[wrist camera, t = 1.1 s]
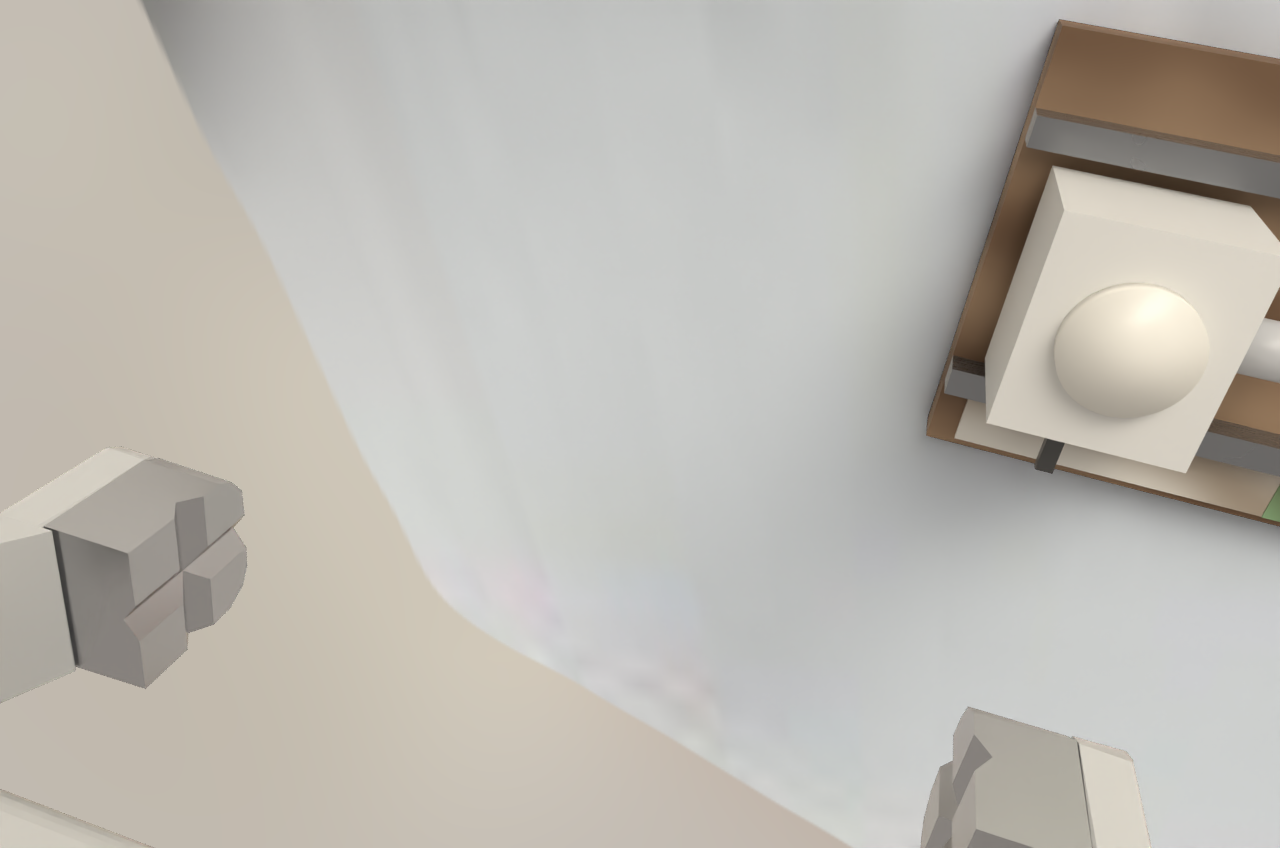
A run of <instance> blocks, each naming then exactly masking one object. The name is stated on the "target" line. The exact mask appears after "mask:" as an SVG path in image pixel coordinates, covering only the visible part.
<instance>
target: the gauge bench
mask: <svg viewBox="0 0 1280 848" xmlns="http://www.w3.org/2000/svg"><path fill="white" fill-rule="evenodd" d="M1035 108H1040V109H1045V110H1050V111H1055V112H1060V113H1066V114H1071V115H1076V116H1081V117H1086V118H1091V119H1096V120H1101V121H1106V122H1112V123H1117V124H1122V125H1127V126H1132V127H1137V128H1142V129H1147V130H1152V131H1157V132H1163V133H1168V134H1173V135H1178V136H1183V137H1188V138H1193V139H1198V140H1203V141H1208V142H1214V143H1219V144H1224V145H1229V146H1234V147H1239V148H1244V149H1249V150H1254V151H1260V152H1265V153H1270V154H1275V155H1280V59H1277V58H1271V57H1266V56H1260V55H1255V54H1249V53H1243V52H1238V51H1232V50H1227V49H1221V48H1216V47H1210V46H1205V45H1199V44H1193V43H1188V42H1182V41H1177V40H1171V39H1166V38H1160V37H1155V36H1149V35H1143V34H1138V33H1132V32H1127V31H1121V30H1116V29H1110V28H1105V27H1099V26H1093V25H1088V24H1082V23H1077V22H1071V21H1066V20H1060V19H1059V21H1058V24H1057V27H1056V30H1055V33H1054V36H1053V39H1052V42H1051V45H1050V48H1049V51H1048V54H1047V58H1046V61H1045V64H1044V67H1043V70H1042V73H1041V76H1040V79H1039V82H1038V85H1037V88H1036V91H1035V94H1034V97H1033V100H1032V103H1031V106H1030V109H1029V112H1028V115H1027V118H1026V121H1025V124H1024V127H1023V130H1022V133H1021V136H1020V139H1019V142H1018V145H1017V148H1016V152H1015V155H1014V158H1013V161H1012V164H1011V167H1010V170H1009V173H1008V176H1007V179H1006V182H1005V185H1004V188H1003V191H1002V194H1001V197H1000V200H999V203H998V206H997V209H996V212H995V215H994V218H993V221H992V224H991V227H990V230H989V233H988V236H987V239H986V242H985V245H984V249H983V252H982V255H981V258H980V261H979V264H978V267H977V270H976V273H975V276H974V279H973V282H972V285H971V288H970V291H969V294H968V297H967V300H966V303H965V306H964V309H963V312H962V315H961V318H960V321H959V324H958V327H957V330H956V333H955V336H954V339H953V343H952V346H951V349H950V352H949V355H948V358H947V361H946V364H945V367H944V370H943V373H942V376H941V379H940V382H939V385H938V388H937V391H936V394H935V397H934V400H933V403H932V406H931V409H930V412H929V415H928V420H927V432H926V436H930V437H934V438H938V439H942V440H945V441H949V442H953V443H957V444H961V445H965V446H969V447H973V448H977V449H980V450H984V451H988V452H992V453H996V454H1000V455H1004V456H1008V457H1012V458H1015V459H1019V460H1023V461H1027V462H1031V463H1035V461H1036V458H1037V456H1038V453H1039V451H1040V448H1041V446H1042V443H1043V441H1044V439H1045V438H1043V437H1039V436H1036V435H1032V434H1028V433H1024V432H1020V431H1016V430H1012V429H1008V428H1004V427H1000V426H996V425H992V424H988V423H986V404H985V403H981V402H977V401H973V400H969V399H965V398H961V397H957V396H953V395H949V394H945V393H944V388H945V378H946V375H947V372H948V369H949V366H950V363H951V360H952V357H953V355H954V356H958V357H962V358H966V359H970V360H974V361H978V362H983V363H985V356H986V353H987V350H988V348H989V345H990V342H991V339H992V336H993V333H994V330H995V328H996V325H997V322H998V319H999V316H1000V313H1001V311H1002V308H1003V305H1004V302H1005V299H1006V296H1007V293H1008V291H1009V288H1010V285H1011V282H1012V279H1013V276H1014V274H1015V271H1016V268H1017V265H1018V262H1019V259H1020V257H1021V254H1022V251H1023V248H1024V245H1025V242H1026V239H1027V237H1028V234H1029V231H1030V228H1031V225H1032V222H1033V220H1034V217H1035V214H1036V211H1037V208H1038V205H1039V202H1040V200H1041V197H1042V194H1043V191H1044V188H1045V185H1046V183H1047V180H1048V177H1049V174H1050V171H1051V168H1052V166H1058V167H1063V168H1067V169H1072V170H1077V171H1082V172H1087V173H1092V174H1097V175H1102V176H1106V177H1111V178H1116V179H1121V180H1126V181H1131V182H1136V183H1141V184H1145V185H1150V186H1155V187H1160V188H1165V189H1170V190H1175V191H1180V192H1184V193H1189V194H1194V195H1199V196H1204V197H1209V198H1214V199H1218V200H1223V201H1228V202H1233V203H1238V204H1243V205H1248V206H1251V207H1252V209H1253V210H1254V211H1255V212H1256V213H1257V215H1258V216H1259V217H1260V218H1261V220H1262V221H1263V222H1264V223H1265V224H1266V226H1267V227H1268V228H1269V229H1270V231H1271V232H1272V233H1273V234H1274V235H1275V237H1276V238H1277V239H1278V240H1279V242H1280V199H1279V198H1274V197H1269V196H1264V195H1260V194H1255V193H1250V192H1245V191H1240V190H1235V189H1230V188H1225V187H1220V186H1215V185H1210V184H1205V183H1200V182H1195V181H1191V180H1186V179H1181V178H1176V177H1171V176H1166V175H1161V174H1156V173H1151V172H1146V171H1141V170H1136V169H1131V168H1127V167H1122V166H1117V165H1112V164H1107V163H1102V162H1097V161H1092V160H1087V159H1082V158H1077V157H1072V156H1067V155H1062V154H1058V153H1053V152H1048V151H1043V150H1038V149H1033V148H1028V147H1026V141H1025V137H1026V134H1027V131H1028V128H1029V125H1030V122H1031V119H1032V116H1033V113H1034V110H1035ZM1264 318H1267V319H1272V320H1276V321H1280V287H1279V289H1278V291H1277V293H1276V295H1275V297H1274V299H1273V301H1272V303H1271V305H1270V307H1269V309H1268V311H1267V313H1266V315H1265V317H1264ZM1214 419H1218V420H1222V421H1227V422H1231V423H1235V424H1239V425H1243V426H1247V427H1251V428H1256V429H1260V430H1264V431H1268V432H1272V433H1276V434H1280V383H1276V382H1272V381H1268V380H1263V379H1259V378H1255V377H1250V376H1246V375H1242V374H1238V373H1236V375H1235V377H1234V379H1233V381H1232V383H1231V385H1230V387H1229V389H1228V391H1227V393H1226V395H1225V397H1224V399H1223V401H1222V403H1221V405H1220V406H1219V408H1218V410H1217V412H1216V414H1215V416H1214ZM1054 469H1058V470H1062V471H1066V472H1070V473H1074V474H1078V475H1082V476H1086V477H1089V478H1093V479H1097V480H1101V481H1105V482H1109V483H1113V484H1117V485H1121V486H1124V487H1128V488H1132V489H1136V490H1140V491H1144V492H1148V493H1152V494H1156V495H1159V496H1163V497H1167V498H1171V499H1175V500H1179V501H1183V502H1187V503H1191V504H1194V505H1198V506H1202V507H1206V508H1210V509H1214V510H1218V511H1222V512H1226V513H1229V514H1233V515H1237V516H1241V517H1245V518H1249V519H1253V520H1257V521H1261V522H1264V523H1268V524H1272V525H1276V526H1280V477H1279V476H1275V475H1271V474H1267V473H1263V472H1259V471H1255V470H1251V469H1247V468H1243V467H1239V466H1235V465H1231V464H1227V463H1222V462H1218V461H1214V460H1210V459H1206V458H1202V457H1198V456H1194V458H1193V460H1192V462H1191V464H1190V466H1189V468H1188V470H1187V472H1186V473H1182V472H1178V471H1174V470H1170V469H1166V468H1162V467H1158V466H1154V465H1151V464H1147V463H1143V462H1139V461H1135V460H1131V459H1127V458H1123V457H1119V456H1115V455H1111V454H1107V453H1103V452H1099V451H1095V450H1091V449H1087V448H1083V447H1079V446H1075V445H1071V444H1067V443H1065V444H1064V447H1063V449H1062V451H1061V454H1060V456H1059V459H1058V461H1057V463H1056V466H1055V468H1054Z"/></svg>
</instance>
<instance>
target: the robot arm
mask: <svg viewBox="0 0 1280 848" xmlns="http://www.w3.org/2000/svg"><path fill="white" fill-rule="evenodd" d="M243 516H244V507H243V497H242V490H240V489H239V488H238V487H237V486H236V485H235V484H233V483H232V482H230V481H226V480H224V479H220V478H217V477H214V476H211V475H208V474H205V473H202V472H199V471H196V470H193V469H190V468H187V467H184V466H181V465H178V464H175V463H172V462H169V461H166V460H163V459H160V458H154V457H152V456H149V455H146V454H143V453H140V452H136V451H133V450H130V449H127V448H124V447H110V448H105V449H103V450H102V451H100V452H98V453H97V454H95V455H94V456H92V457H90V458H89V459H87V460H86V461H84V462H82V463H81V464H79V465H77V466H76V467H74V468H72V469H71V470H69V471H67V472H66V473H64V474H63V475H61V476H59V477H58V478H56V479H55V480H53V481H51V482H50V483H48V484H46V485H45V486H43V487H41V488H40V489H38V490H36V491H35V492H33V493H32V494H30V495H28V496H27V497H25V498H23V499H22V500H20V501H19V502H17V503H15V504H14V505H12V506H10V507H9V508H7V509H5V510H4V511H2V512H1V513H0V703H2V702H4V701H7V700H9V699H11V698H14V697H16V696H18V695H21V694H23V693H25V692H28V691H30V690H32V689H35V688H37V687H39V686H42V685H44V684H46V683H49V682H51V681H53V680H56V679H58V678H60V677H63V676H65V675H67V674H70V673H72V672H74V671H75V670H76V667H78V668H82V669H85V670H88V671H91V672H94V673H98V674H101V675H104V676H107V677H110V678H113V679H117V680H120V681H123V682H126V683H129V684H132V685H135V686H138V687H142V688H145V689H146V688H147V687H148V686H149V685H150V684H151V683H152V682H153V681H154V680H155V679H156V678H158V677H159V676H160V674H162V673H163V672H164V671H165V670H166V669H167V668H168V667H169V666H170V665H171V664H172V663H173V662H175V661H176V660H177V659H178V658H179V657H180V656H181V655H182V654H183V653H184V652H185V651H186V650H187V644H188V633H190V632H192V631H196V630H199V629H202V628H205V627H208V626H211V625H214V624H215V623H216V622H217V621H218V620H219V619H220V618H221V617H222V616H223V615H224V614H225V613H226V612H227V611H228V610H229V609H230V608H231V606H232V604H233V602H234V600H235V599H236V597H237V595H238V593H239V591H240V589H241V588H242V586H243V582H244V577H245V573H246V568H247V552H246V546H245V545H244V543H243V542H242V540H241V538H240V537H239V535H238V534H237V532H236V531H235V529H234V528H233V527H234V526H235V525H236V524H237V523H238V522H239V521H240V520H241V518H242V517H243ZM0 848H153V847H151V846H148V845H146V844H143V843H140V842H138V841H135V840H133V839H130V838H127V837H125V836H122V835H119V834H117V833H114V832H112V831H109V830H106V829H104V828H101V827H99V826H96V825H93V824H91V823H88V822H86V821H83V820H80V819H77V818H75V817H72V816H70V815H67V814H65V813H62V812H59V811H57V810H54V809H52V808H49V807H46V806H44V805H41V804H38V803H36V802H33V801H30V800H28V799H25V798H23V797H20V796H18V795H15V794H12V793H10V792H7V791H5V790H2V789H0ZM921 848H1152V847H1151V842H1150V838H1149V833H1148V828H1147V824H1146V819H1145V814H1144V810H1143V805H1142V800H1141V796H1140V791H1139V786H1138V781H1137V777H1136V772H1135V767H1134V763H1133V760H1132V758H1131V757H1130V756H1129V754H1128V753H1127V752H1126V751H1123V750H1120V749H1116V748H1113V747H1109V746H1105V745H1102V744H1098V743H1095V742H1091V741H1088V740H1084V739H1081V738H1077V737H1071V738H1070V737H1068V736H1065V735H1062V734H1059V733H1055V732H1052V731H1049V730H1045V729H1042V728H1039V727H1035V726H1032V725H1028V724H1025V723H1022V722H1018V721H1015V720H1012V719H1008V718H1005V717H1002V716H998V715H995V714H992V713H988V712H985V711H982V710H978V709H975V708H971V707H968V708H967V709H966V710H965V712H964V713H963V715H962V716H961V718H960V721H959V723H958V725H957V728H956V730H955V732H954V735H953V761H951V762H949V763H947V764H945V765H943V766H941V767H940V768H939V771H938V774H937V776H936V779H935V782H934V784H933V787H932V790H931V793H930V797H929V800H928V804H927V808H926V812H925V816H924V822H923V829H922V837H921Z"/></svg>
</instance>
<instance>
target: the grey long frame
mask: <svg viewBox="0 0 1280 848" xmlns="http://www.w3.org/2000/svg"><path fill="white" fill-rule="evenodd" d="M1025 141H1026V147H1028V148H1033V149H1038V150H1043V151H1048V152H1053V153H1058V154H1062V155H1067V156H1072V157H1077V158H1082V159H1087V160H1092V161H1097V162H1102V163H1107V164H1112V165H1117V166H1122V167H1127V168H1131V169H1136V170H1141V171H1146V172H1151V173H1156V174H1161V175H1166V176H1171V177H1176V178H1181V179H1186V180H1191V181H1195V182H1200V183H1205V184H1210V185H1215V186H1220V187H1225V188H1230V189H1235V190H1240V191H1245V192H1250V193H1255V194H1260V195H1264V196H1269V197H1274V198H1279V199H1280V155H1275V154H1270V153H1265V152H1260V151H1254V150H1249V149H1244V148H1239V147H1234V146H1229V145H1224V144H1219V143H1214V142H1208V141H1203V140H1198V139H1193V138H1188V137H1183V136H1178V135H1173V134H1168V133H1163V132H1157V131H1152V130H1147V129H1142V128H1137V127H1132V126H1127V125H1122V124H1117V123H1112V122H1106V121H1101V120H1096V119H1091V118H1086V117H1081V116H1076V115H1071V114H1066V113H1060V112H1055V111H1050V110H1045V109H1040V108H1035V110H1034V113H1033V116H1032V119H1031V122H1030V125H1029V128H1028V131H1027V134H1026V137H1025ZM944 393H945V394H949V395H953V396H957V397H961V398H965V399H969V400H973V401H977V402H981V403H985V404H986V386H985V363H983V362H978V361H974V360H970V359H966V358H962V357H958V356H954V355H953V357H952V360H951V363H950V366H949V369H948V372H947V375H946V378H945V388H944ZM1195 456H1198V457H1202V458H1206V459H1210V460H1214V461H1218V462H1222V463H1227V464H1231V465H1235V466H1239V467H1243V468H1247V469H1251V470H1255V471H1259V472H1263V473H1267V474H1271V475H1275V476H1279V477H1280V434H1276V433H1272V432H1268V431H1264V430H1260V429H1256V428H1251V427H1247V426H1243V425H1239V424H1235V423H1231V422H1227V421H1222V420H1218V419H1214V418H1213V420H1212V422H1211V424H1210V426H1209V428H1208V430H1207V432H1206V434H1205V436H1204V438H1203V440H1202V442H1201V444H1200V446H1199V448H1198V450H1197V452H1196V454H1195Z"/></svg>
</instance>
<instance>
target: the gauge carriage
mask: <svg viewBox="0 0 1280 848" xmlns="http://www.w3.org/2000/svg"><path fill="white" fill-rule="evenodd" d="M1279 287H1280V242H1279V240H1278V239H1277V238H1276V237H1275V235H1274V234H1273V233H1272V232H1271V231H1270V229H1269V228H1268V227H1267V226H1266V224H1265V223H1264V222H1263V221H1262V220H1261V218H1260V217H1259V216H1258V215H1257V213H1256V212H1255V211H1254V210H1253V209H1252V207H1251V206H1248V205H1243V204H1238V203H1233V202H1228V201H1223V200H1218V199H1214V198H1209V197H1204V196H1199V195H1194V194H1189V193H1184V192H1180V191H1175V190H1170V189H1165V188H1160V187H1155V186H1150V185H1145V184H1141V183H1136V182H1131V181H1126V180H1121V179H1116V178H1111V177H1106V176H1102V175H1097V174H1092V173H1087V172H1082V171H1077V170H1072V169H1067V168H1063V167H1058V166H1052V168H1051V171H1050V174H1049V177H1048V180H1047V183H1046V185H1045V188H1044V191H1043V194H1042V197H1041V200H1040V202H1039V205H1038V208H1037V211H1036V214H1035V217H1034V220H1033V222H1032V225H1031V228H1030V231H1029V234H1028V237H1027V239H1026V242H1025V245H1024V248H1023V251H1022V254H1021V257H1020V259H1019V262H1018V265H1017V268H1016V271H1015V274H1014V276H1013V279H1012V282H1011V285H1010V288H1009V291H1008V293H1007V296H1006V299H1005V302H1004V305H1003V308H1002V311H1001V313H1000V316H999V319H998V322H997V325H996V328H995V330H994V333H993V336H992V339H991V342H990V345H989V348H988V350H987V353H986V356H985V386H986V423H988V424H992V425H996V426H1000V427H1004V428H1008V429H1012V430H1016V431H1020V432H1024V433H1028V434H1032V435H1036V436H1039V437H1043V438H1045V439H1044V441H1043V443H1042V446H1041V448H1040V451H1039V453H1038V456H1037V458H1036V461H1035V463H1034V465H1035V469H1036V470H1040V471H1044V472H1048V473H1053V470H1054V468H1055V466H1056V463H1057V461H1058V459H1059V456H1060V454H1061V451H1062V449H1063V447H1064V444H1065V443H1067V444H1071V445H1075V446H1079V447H1083V448H1087V449H1091V450H1095V451H1099V452H1103V453H1107V454H1111V455H1115V456H1119V457H1123V458H1127V459H1131V460H1135V461H1139V462H1143V463H1147V464H1151V465H1154V466H1158V467H1162V468H1166V469H1170V470H1174V471H1178V472H1182V473H1186V472H1187V470H1188V468H1189V466H1190V464H1191V462H1192V460H1193V458H1194V456H1195V454H1196V452H1197V450H1198V448H1199V446H1200V444H1201V442H1202V440H1203V438H1204V436H1205V434H1206V432H1207V430H1208V428H1209V426H1210V424H1211V422H1212V420H1213V418H1214V416H1215V414H1216V412H1217V410H1218V408H1219V406H1220V405H1221V403H1222V401H1223V399H1224V397H1225V395H1226V393H1227V391H1228V389H1229V387H1230V385H1231V383H1232V381H1233V379H1234V377H1235V375H1236V373H1238V374H1242V375H1246V376H1250V377H1255V378H1259V379H1263V380H1268V381H1272V382H1276V383H1280V321H1276V320H1272V319H1267V318H1264V317H1265V315H1266V313H1267V311H1268V309H1269V307H1270V305H1271V303H1272V301H1273V299H1274V297H1275V295H1276V293H1277V291H1278V289H1279Z"/></svg>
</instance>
